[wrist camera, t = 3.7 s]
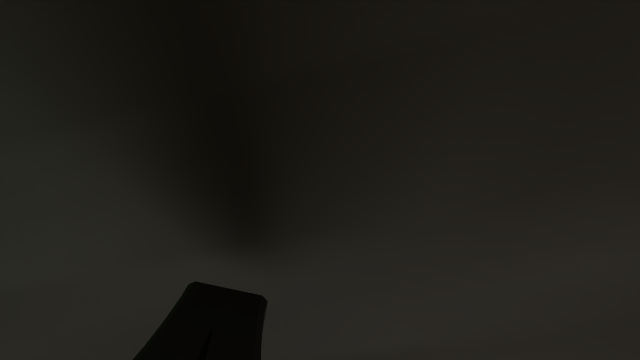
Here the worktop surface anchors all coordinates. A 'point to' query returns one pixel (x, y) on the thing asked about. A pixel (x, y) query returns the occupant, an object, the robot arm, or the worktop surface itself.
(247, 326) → the robot arm
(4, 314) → the worktop surface
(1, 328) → the worktop surface
